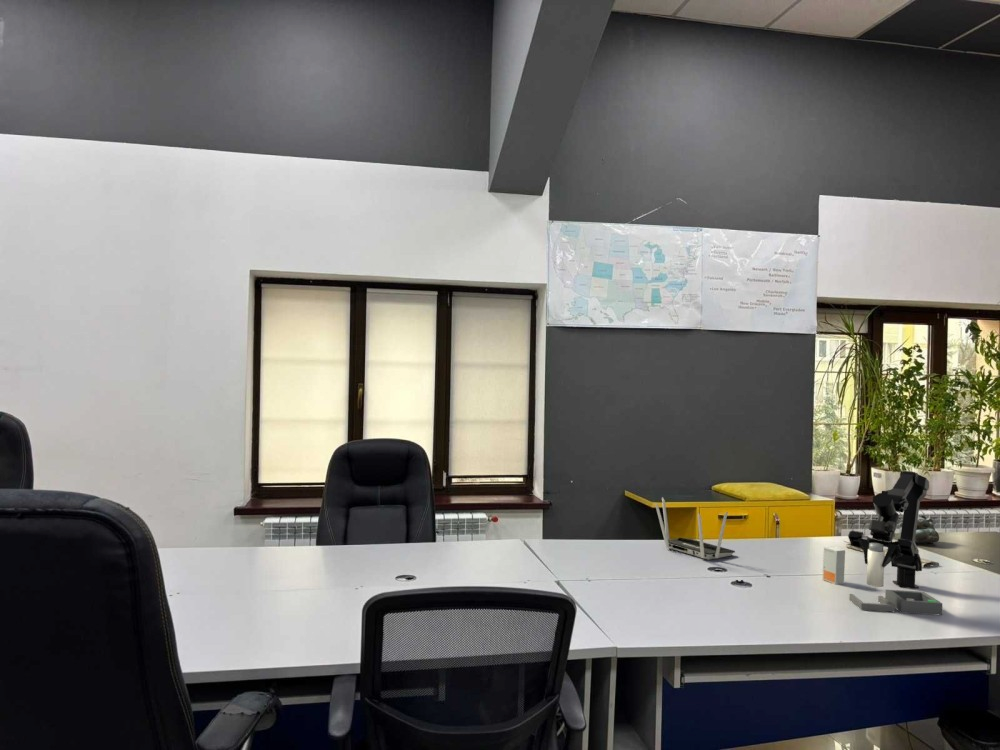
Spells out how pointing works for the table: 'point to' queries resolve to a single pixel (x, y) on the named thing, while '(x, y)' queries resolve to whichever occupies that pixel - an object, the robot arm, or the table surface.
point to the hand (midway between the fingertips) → (874, 564)
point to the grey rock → (925, 531)
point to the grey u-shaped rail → (873, 604)
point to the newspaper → (924, 561)
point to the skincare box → (833, 565)
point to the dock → (914, 602)
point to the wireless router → (693, 545)
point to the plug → (875, 565)
